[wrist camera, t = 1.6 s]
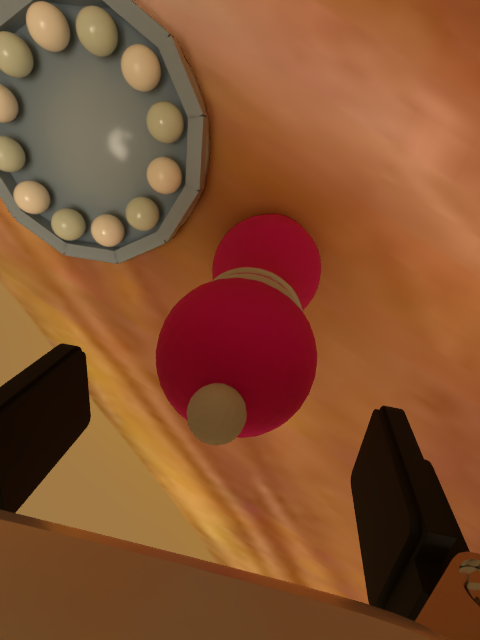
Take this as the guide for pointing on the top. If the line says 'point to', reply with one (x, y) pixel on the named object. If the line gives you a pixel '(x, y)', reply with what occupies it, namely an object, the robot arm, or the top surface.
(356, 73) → the top surface
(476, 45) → the top surface
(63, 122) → the bead tray
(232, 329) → the pepper mill
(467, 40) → the top surface
